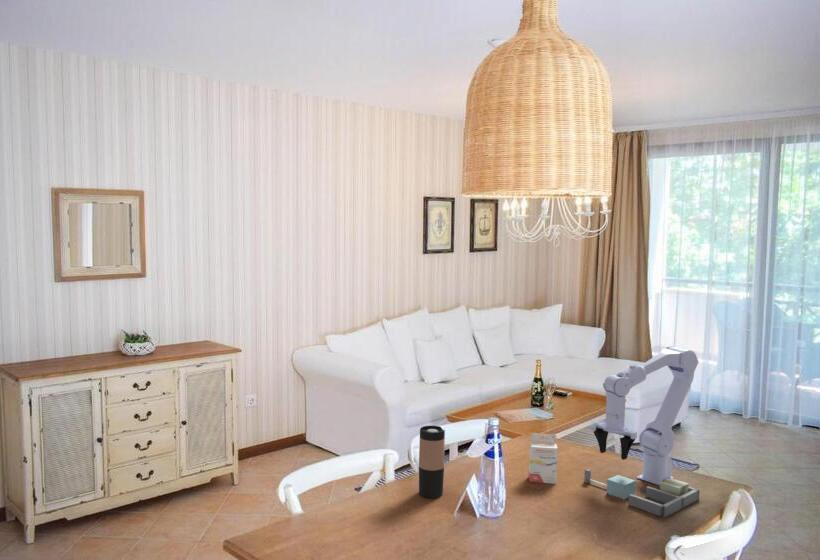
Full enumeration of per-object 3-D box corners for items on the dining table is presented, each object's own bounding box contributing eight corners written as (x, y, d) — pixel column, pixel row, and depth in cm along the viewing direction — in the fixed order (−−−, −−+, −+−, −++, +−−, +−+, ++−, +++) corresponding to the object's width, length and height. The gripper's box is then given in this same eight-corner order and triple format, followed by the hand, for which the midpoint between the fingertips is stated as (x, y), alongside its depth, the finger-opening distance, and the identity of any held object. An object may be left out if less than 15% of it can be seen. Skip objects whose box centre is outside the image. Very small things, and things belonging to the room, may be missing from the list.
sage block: (669, 493, 206) (669, 477, 205) (687, 499, 201) (688, 483, 201) (659, 498, 202) (660, 482, 201) (678, 504, 197) (678, 488, 197)
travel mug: (414, 496, 199) (415, 430, 197) (423, 487, 206) (425, 424, 205) (438, 500, 196) (440, 434, 195) (446, 491, 203) (448, 427, 202)
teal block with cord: (590, 479, 216) (590, 465, 215) (634, 494, 204) (635, 480, 203) (579, 483, 212) (579, 469, 212) (624, 499, 200) (624, 485, 200)
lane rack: (664, 488, 210) (664, 478, 209) (698, 499, 201) (699, 489, 201) (628, 504, 196) (628, 494, 196) (664, 517, 188) (664, 507, 187)
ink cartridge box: (529, 482, 212) (531, 437, 211) (528, 476, 217) (529, 432, 216) (556, 484, 211) (558, 438, 210) (554, 478, 216) (556, 434, 215)
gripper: (588, 410, 213) (586, 452, 214) (629, 420, 202) (627, 464, 203) (600, 407, 218) (599, 447, 219) (641, 417, 207) (639, 459, 208)
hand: (613, 455), depth 211 cm, fingers open, 7 cm apart
